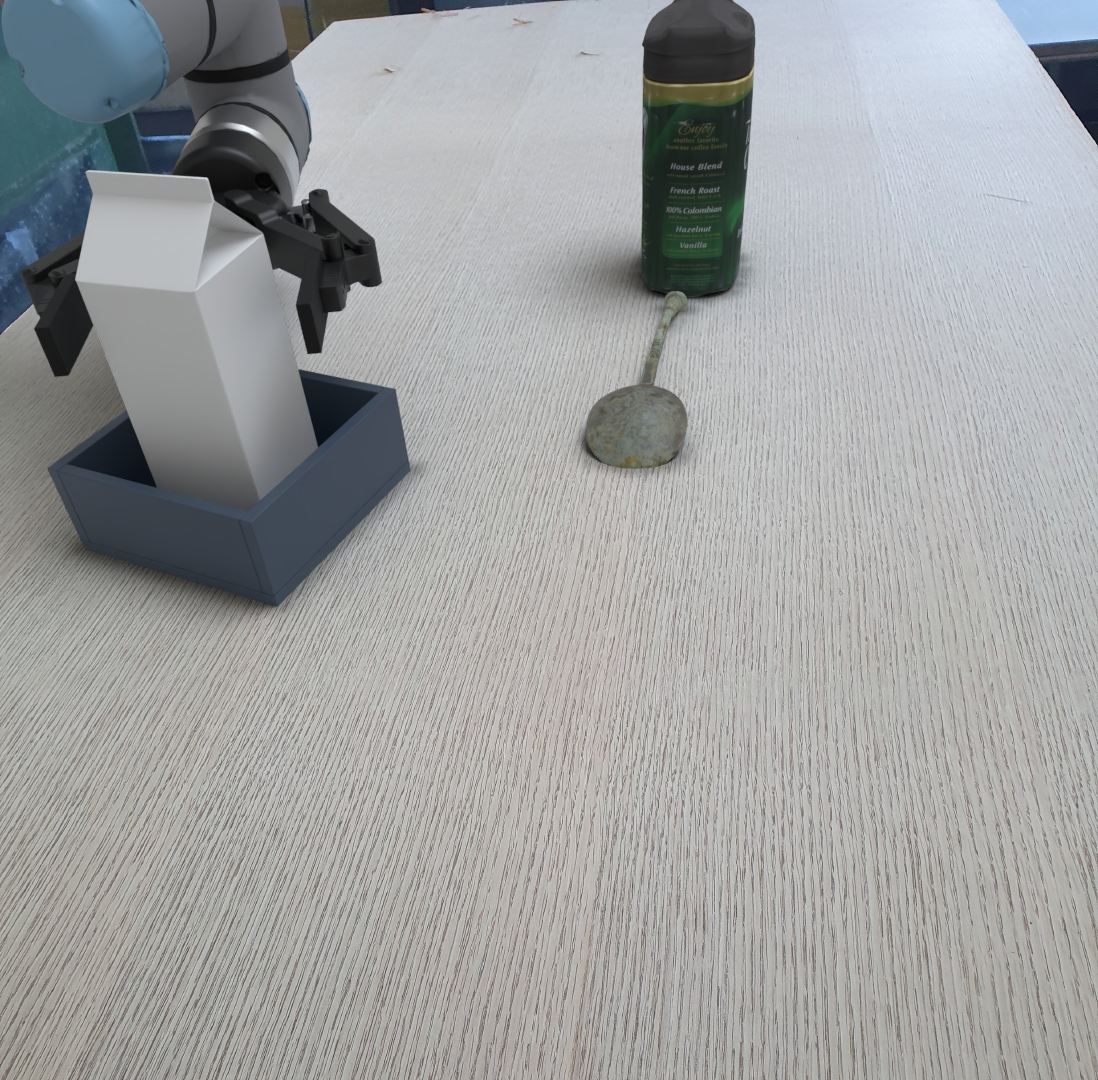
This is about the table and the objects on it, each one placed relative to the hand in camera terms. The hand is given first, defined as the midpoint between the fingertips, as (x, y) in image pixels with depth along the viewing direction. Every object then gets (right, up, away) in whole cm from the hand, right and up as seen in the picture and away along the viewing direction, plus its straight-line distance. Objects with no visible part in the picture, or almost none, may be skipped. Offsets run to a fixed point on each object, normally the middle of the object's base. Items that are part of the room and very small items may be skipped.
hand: (180, 341), depth 56 cm
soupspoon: (+27, +4, +19) cm, 33 cm away
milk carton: (+1, -6, +11) cm, 12 cm away
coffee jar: (+31, +16, +30) cm, 46 cm away
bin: (+1, -7, +11) cm, 13 cm away
